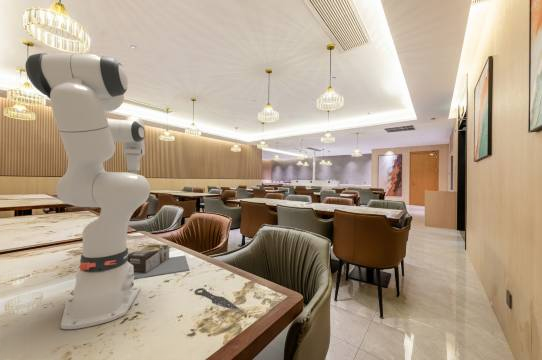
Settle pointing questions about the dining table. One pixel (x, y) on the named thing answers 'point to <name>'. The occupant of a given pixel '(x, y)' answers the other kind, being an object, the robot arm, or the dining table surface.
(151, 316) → the dining table surface
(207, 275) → the dining table surface
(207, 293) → the throwing knife
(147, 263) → the coffee box
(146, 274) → the mat
